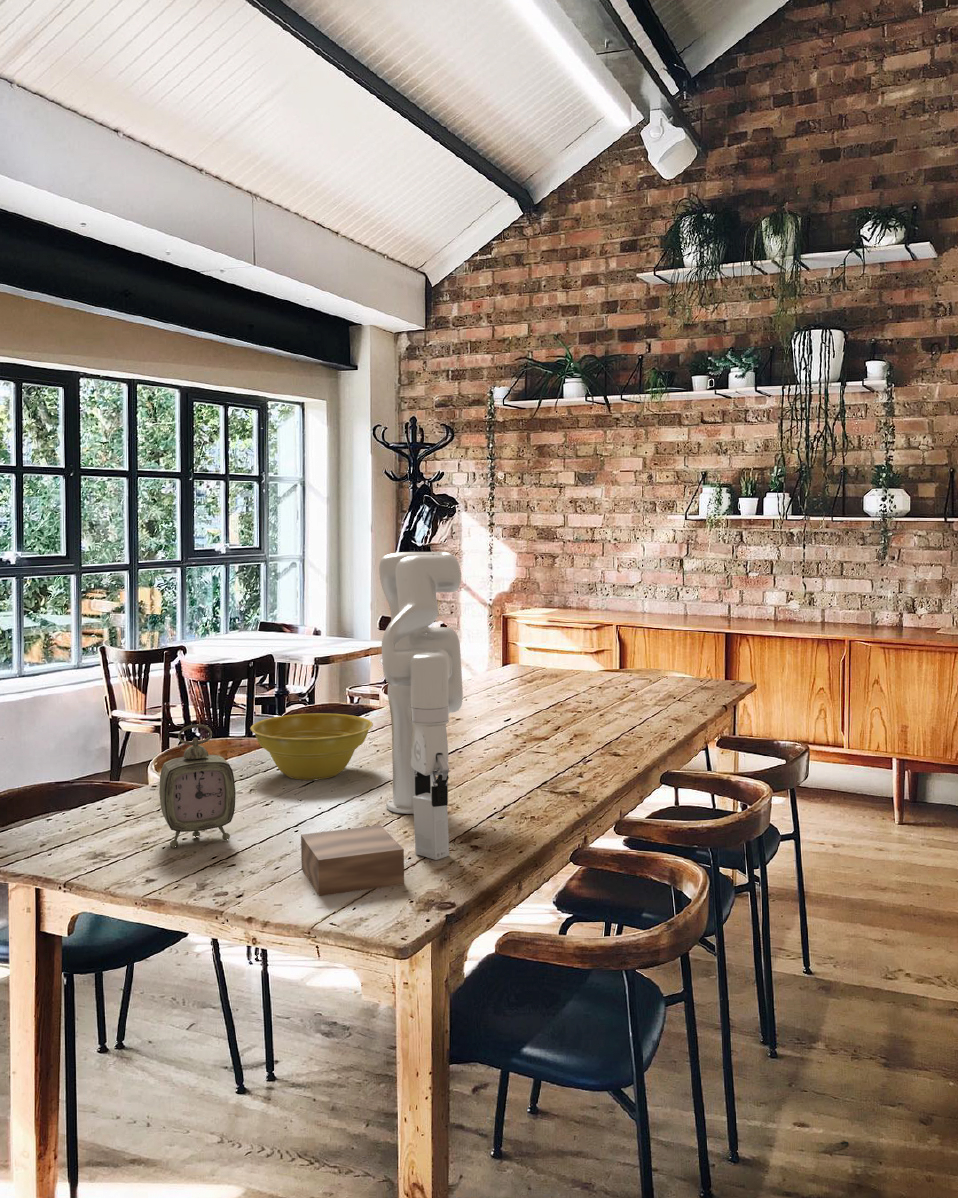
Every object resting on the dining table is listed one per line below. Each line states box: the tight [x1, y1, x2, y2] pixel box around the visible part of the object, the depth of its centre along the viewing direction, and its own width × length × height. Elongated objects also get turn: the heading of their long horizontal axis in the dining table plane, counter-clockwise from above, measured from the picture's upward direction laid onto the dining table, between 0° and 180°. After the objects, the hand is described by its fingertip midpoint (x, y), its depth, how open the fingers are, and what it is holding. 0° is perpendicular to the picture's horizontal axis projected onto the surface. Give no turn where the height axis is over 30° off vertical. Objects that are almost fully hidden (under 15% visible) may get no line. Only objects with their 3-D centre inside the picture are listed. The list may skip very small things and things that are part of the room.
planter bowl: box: [249, 712, 374, 781], centre depth 271 cm, size 32×32×13 cm
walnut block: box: [300, 824, 405, 897], centre depth 194 cm, size 16×16×7 cm
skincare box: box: [413, 793, 450, 861], centre depth 205 cm, size 6×4×12 cm
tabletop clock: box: [158, 724, 237, 848], centre depth 215 cm, size 14×9×25 cm, turn 115°
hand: (431, 800), depth 204 cm, fingers open, 9 cm apart
